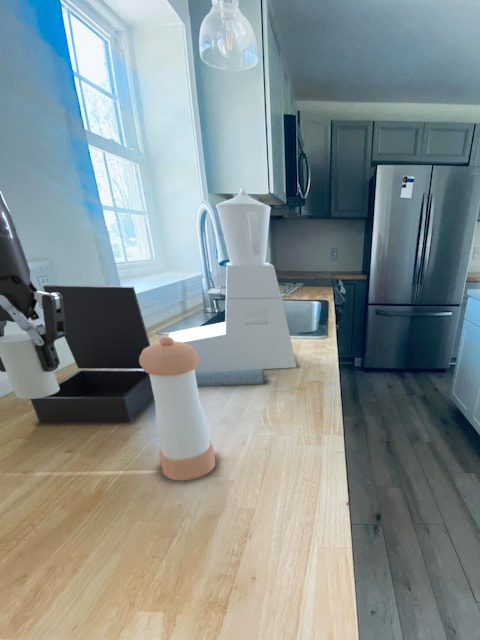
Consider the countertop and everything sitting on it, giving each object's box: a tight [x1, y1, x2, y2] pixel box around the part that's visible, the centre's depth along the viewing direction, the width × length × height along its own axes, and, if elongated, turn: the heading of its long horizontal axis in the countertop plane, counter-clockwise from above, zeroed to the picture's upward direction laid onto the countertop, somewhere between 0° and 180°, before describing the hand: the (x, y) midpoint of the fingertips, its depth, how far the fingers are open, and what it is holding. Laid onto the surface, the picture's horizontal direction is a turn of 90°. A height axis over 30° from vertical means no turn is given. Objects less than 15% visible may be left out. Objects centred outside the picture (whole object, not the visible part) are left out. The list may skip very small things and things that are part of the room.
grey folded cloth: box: [195, 369, 265, 387], centre depth 84 cm, size 23×7×3 cm, turn 100°
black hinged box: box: [30, 369, 154, 424], centre depth 71 cm, size 16×16×5 cm
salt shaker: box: [139, 336, 216, 481], centre depth 49 cm, size 7×7×19 cm
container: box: [0, 332, 60, 400], centre depth 51 cm, size 5×5×8 cm
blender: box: [167, 188, 297, 372], centre depth 90 cm, size 33×18×40 cm, turn 104°
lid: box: [42, 284, 151, 370], centre depth 73 cm, size 16×16×6 cm
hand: (30, 369), depth 52 cm, fingers closed on container, 5 cm apart
